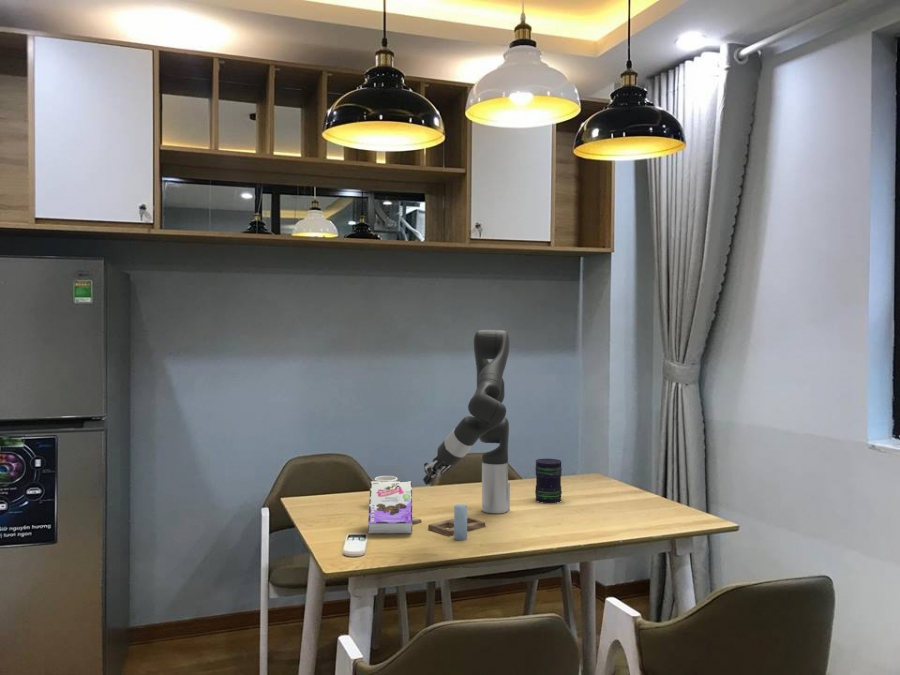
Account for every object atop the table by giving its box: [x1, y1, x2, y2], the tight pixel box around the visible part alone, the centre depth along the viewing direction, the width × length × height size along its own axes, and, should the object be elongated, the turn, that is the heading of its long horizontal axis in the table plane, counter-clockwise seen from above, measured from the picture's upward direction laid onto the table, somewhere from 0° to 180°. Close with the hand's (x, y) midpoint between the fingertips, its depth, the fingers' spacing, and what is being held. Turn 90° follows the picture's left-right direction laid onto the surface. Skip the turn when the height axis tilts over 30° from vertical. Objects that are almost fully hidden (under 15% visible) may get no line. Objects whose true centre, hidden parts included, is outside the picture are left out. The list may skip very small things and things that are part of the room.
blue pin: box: [453, 504, 468, 541], centre depth 218 cm, size 4×4×10 cm
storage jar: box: [534, 458, 563, 504], centre depth 267 cm, size 10×10×15 cm
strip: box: [412, 516, 422, 526], centre depth 235 cm, size 7×4×8 cm, turn 133°
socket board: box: [427, 516, 486, 537], centre depth 230 cm, size 16×10×2 cm, turn 133°
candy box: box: [367, 480, 413, 535], centre depth 227 cm, size 14×6×16 cm
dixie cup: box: [374, 475, 398, 482], centre depth 259 cm, size 8×8×10 cm
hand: (426, 482), depth 214 cm, fingers closed
